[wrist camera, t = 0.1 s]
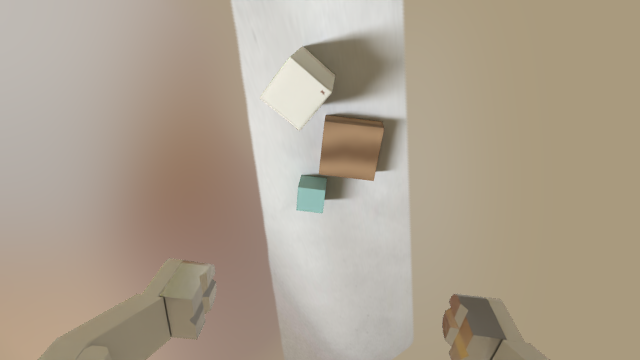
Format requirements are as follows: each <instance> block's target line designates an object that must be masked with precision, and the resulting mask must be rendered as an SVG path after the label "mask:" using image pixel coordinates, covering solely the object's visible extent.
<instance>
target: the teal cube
mask: <svg viewBox="0 0 640 360" xmlns="http://www.w3.org/2000/svg"><path fill="white" fill-rule="evenodd" d="M326 181H327V178H322V177H313V176H304V175H301V179H300V182H299V186H298V196H297V210H299V211H308V212H316V213H323V206H324V198H325V189H326Z"/></svg>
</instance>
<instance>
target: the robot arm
mask: <svg viewBox="0 0 640 360" xmlns="http://www.w3.org/2000/svg"><path fill="white" fill-rule="evenodd" d="M214 274H215V267H214V265H213V264H207V263H200V262H194V261H187V260H178V259H172V258H170V259H168V260H167V261H166V262H165V263H164V264H163V266H162V267H161V268H160V270H159V271H158V272H157V274H156V275H155V277H154V278H153V279H152V281H151V282H150V284H149V285H148V286H147V288H146V289H145V290H144V292H143V293H142V294H136V295H134V296H133V297H131V298H129V299H127V300H125V301H124V302H122V303H120V304H118V305H116V306H115V307H113V308H111V309H109V310H107V311H106V312H104V313H102V314H100V315H98V316H97V317H95V318H93V319H91V320H89V321H88V322H86V323H84V324H82V325H80V326H79V327H77V328H75V329H73V330H71V331H70V332H68V333H66V334H64V335H63V336H61V337H59V338H57V339H56V340H55V341H54V342H53V343H52V344H51V345H50V347H49V348H48V349H47V350H46V351H45V352H44V354H43V355H42V356H41V357H40V358H39V359H38V360H146V359H147V358H148V357H150V356H151V355H152V354H153V353H154V352H155V351H157V350H158V349H159V348H160V347H161V346H163V345H164V344H165V343H166V342H167V341H169V340H170V339H171V338H170V337H176V338H186V339H196V340H197V339H198V336H199V334H200V332H201V330H202V327H203V325H204V323H205V314H206V313H207V312H209V311H210V310H211V308H212V305H213V303H214V299H215V295H216V282H215V281H214V280H213V279H212V278H213V276H214ZM449 303H450V306H451V308H449V309H448V310H446V311H445V314H444V316H443V323H442V328H443V334H444V338H445V340H446V341H447V342H448V344H449V345H450V346H451V349H450V351H449V355H450V358H451V360H550V359H548V358H547V357H546V356H545V355H544V354H542V353H541V352H540V351H539V350H537V349H536V348H535V347H534V346H533V345H531V344H530V343H525V341H524V339H523V338H522V336H521V334H520V332H519V330H518V328H517V327H516V325H515V323H514V321H513V319H512V317H511V316H510V314H509V312H508V310H507V308H506V306H505V305H504V303H503V302H502V301H501V300H500V299H496V298H487V297H478V296H468V295H460V294H453V295H452V296H451V298H450V301H449Z"/></svg>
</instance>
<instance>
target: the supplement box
mask: <svg viewBox="0 0 640 360" xmlns="http://www.w3.org/2000/svg"><path fill="white" fill-rule="evenodd" d="M334 81H335V75H334V74H333V73H332V72H331V71H330V70H329V69H328V68H327V67H325V66H324V65H323V64H322V63H321V62H320V61H319V60H318V59H317V58H315V57H314V56H313V55H312V54H311V53H310V52H309V51H308V50H307V49H305V48H304V47H301V48H300V49H299V50H297V51H296V52H295V53H294V54H293V55H292V56H291V57H289V58H288V60H287V61H286V62H285V63H284V65H283V66H282V67H281V69H280V70H279V71H278V73H277V74H276V75H275V77H274V78H273V79H272V81H271V82H270V84H269V85H268V86H267V88H266V89H265V91H264V92H263V94H262V95H261V97H260V99H261V100H262V101H264V102H265V103H266V104H267V105H269V106H270V107H271V108H272V109H274V110H275V111H276V112H277V113H278V114H280V115H281V116H282V117H283V118H284V119H286V120H287V121H288V122H289V123H290V124H292V125H293V126H294V127H295V128H296V129H297V130H301V129H302V128H303V126H304V125H305V124H306V123H307V122H308V121H309V119H310V118H311V117H312V116H313V115H314V114H315V112H316V111H317V110H318V109H319V108H320V106H321V105H322V104H323V103H324V102H325V101H326V99H327V98H328V97H329V96H330V95H331V94H332V91H333V86H334Z"/></svg>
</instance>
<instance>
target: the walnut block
mask: <svg viewBox="0 0 640 360" xmlns="http://www.w3.org/2000/svg"><path fill="white" fill-rule="evenodd" d="M383 132H384V126H383V123H382V122H381V121H372V120H364V119H355V118H347V117H338V116H330V115H326V117H325V123H324V132H323V141H322V150H321V159H320V169H319V174H321V175H330V176H338V177H346V178H354V179H362V180H371V181H374V176H375V171H376V166H377V161H378V156H379V152H380V147H381V142H382V137H383Z"/></svg>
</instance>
